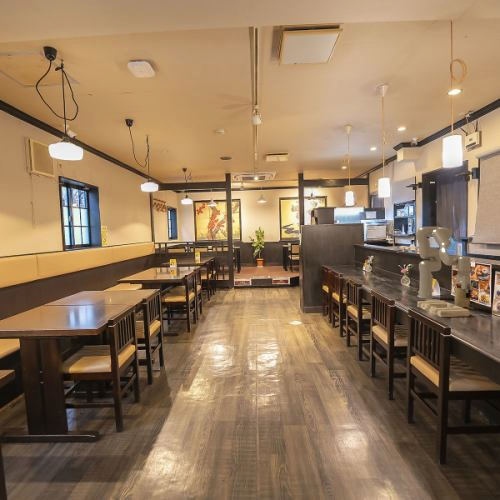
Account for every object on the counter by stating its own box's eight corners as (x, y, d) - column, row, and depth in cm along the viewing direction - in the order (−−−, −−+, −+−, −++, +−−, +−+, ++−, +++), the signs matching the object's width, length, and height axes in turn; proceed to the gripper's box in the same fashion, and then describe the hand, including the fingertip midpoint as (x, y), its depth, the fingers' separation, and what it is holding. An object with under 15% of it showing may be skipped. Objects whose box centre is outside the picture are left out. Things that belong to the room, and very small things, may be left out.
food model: (455, 309, 223) (456, 282, 222) (452, 306, 230) (454, 280, 228) (471, 310, 220) (472, 282, 218) (468, 307, 226) (469, 281, 225)
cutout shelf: (417, 306, 231) (417, 301, 231) (442, 305, 232) (442, 300, 232) (440, 316, 205) (440, 311, 205) (469, 316, 206) (469, 310, 206)
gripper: (450, 271, 231) (449, 294, 232) (467, 275, 214) (467, 299, 215) (459, 271, 231) (459, 293, 232) (478, 275, 214) (477, 299, 215)
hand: (462, 296), depth 224 cm, fingers open, 9 cm apart
